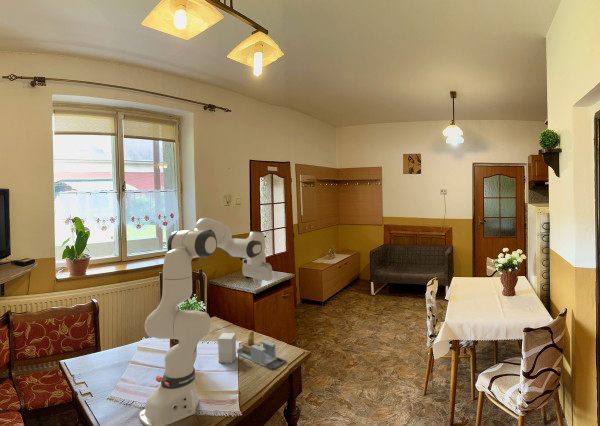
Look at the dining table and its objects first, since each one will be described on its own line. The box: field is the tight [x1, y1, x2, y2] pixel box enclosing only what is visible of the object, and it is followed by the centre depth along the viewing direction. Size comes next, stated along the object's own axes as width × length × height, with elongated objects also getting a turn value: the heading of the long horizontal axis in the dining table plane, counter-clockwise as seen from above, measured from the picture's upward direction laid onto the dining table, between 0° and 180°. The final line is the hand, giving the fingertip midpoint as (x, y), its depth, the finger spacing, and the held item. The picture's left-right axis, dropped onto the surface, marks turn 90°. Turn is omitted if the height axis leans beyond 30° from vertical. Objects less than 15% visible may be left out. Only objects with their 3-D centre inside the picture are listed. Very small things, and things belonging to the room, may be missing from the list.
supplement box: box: [217, 332, 237, 364], centre depth 183 cm, size 7×7×13 cm
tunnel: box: [236, 339, 287, 371], centre depth 185 cm, size 10×26×7 cm, turn 50°
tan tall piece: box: [241, 330, 261, 356], centre depth 189 cm, size 6×7×11 cm
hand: (257, 286), depth 193 cm, fingers closed
